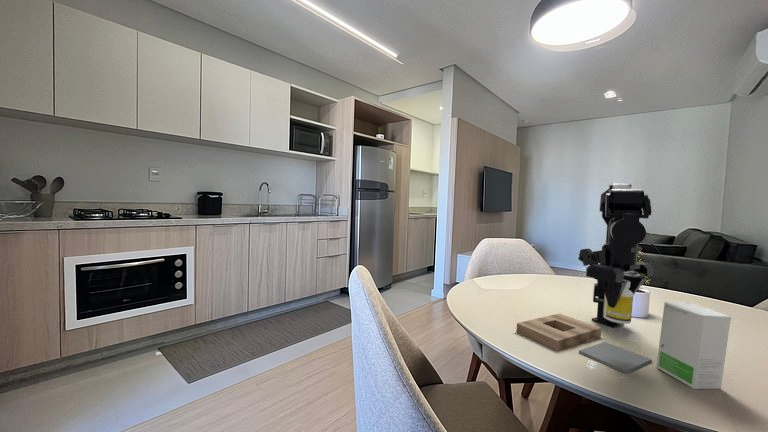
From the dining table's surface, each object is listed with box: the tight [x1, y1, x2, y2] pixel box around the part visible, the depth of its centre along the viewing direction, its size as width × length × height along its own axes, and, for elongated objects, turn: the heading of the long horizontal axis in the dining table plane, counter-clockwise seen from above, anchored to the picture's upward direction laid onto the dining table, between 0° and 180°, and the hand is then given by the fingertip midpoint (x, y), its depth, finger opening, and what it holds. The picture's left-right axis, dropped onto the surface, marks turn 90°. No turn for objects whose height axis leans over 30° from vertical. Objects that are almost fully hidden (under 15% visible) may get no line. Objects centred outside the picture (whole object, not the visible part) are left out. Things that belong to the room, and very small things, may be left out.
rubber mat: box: [578, 341, 653, 374], centre depth 74 cm, size 12×10×1 cm
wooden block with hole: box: [516, 313, 602, 351], centre depth 86 cm, size 20×12×2 cm, turn 118°
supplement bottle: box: [603, 279, 634, 325], centre depth 73 cm, size 5×5×10 cm
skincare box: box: [656, 301, 732, 390], centre depth 65 cm, size 8×7×16 cm
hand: (617, 305), depth 73 cm, fingers closed on supplement bottle, 5 cm apart
